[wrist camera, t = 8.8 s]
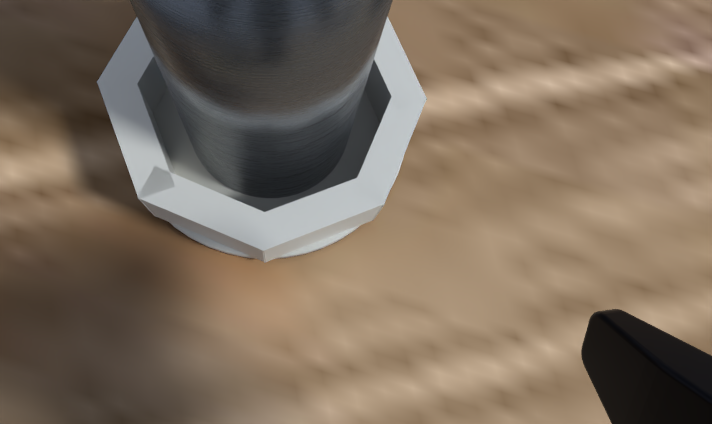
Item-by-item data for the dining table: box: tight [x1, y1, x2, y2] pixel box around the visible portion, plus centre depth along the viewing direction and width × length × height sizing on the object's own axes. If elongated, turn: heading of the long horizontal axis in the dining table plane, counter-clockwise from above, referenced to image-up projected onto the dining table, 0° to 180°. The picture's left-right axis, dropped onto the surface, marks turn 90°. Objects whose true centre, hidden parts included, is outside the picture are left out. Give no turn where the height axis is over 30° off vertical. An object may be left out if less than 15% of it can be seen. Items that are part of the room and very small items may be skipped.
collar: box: [97, 17, 427, 263], centre depth 17 cm, size 9×9×2 cm
